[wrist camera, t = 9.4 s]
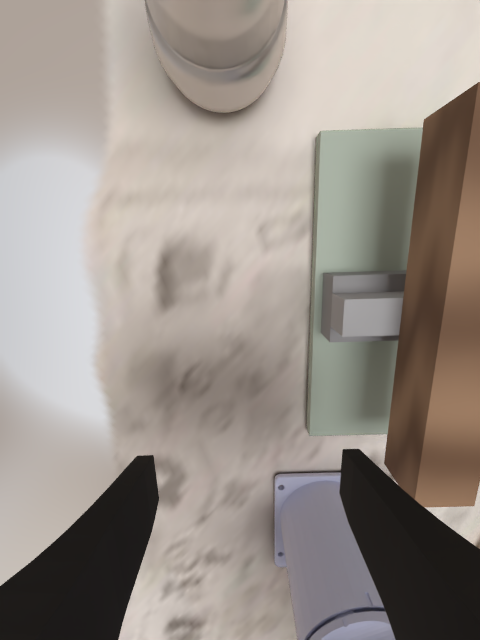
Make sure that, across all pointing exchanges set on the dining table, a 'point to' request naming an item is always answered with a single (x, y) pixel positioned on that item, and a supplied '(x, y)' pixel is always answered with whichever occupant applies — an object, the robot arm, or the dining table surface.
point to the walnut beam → (441, 318)
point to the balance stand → (358, 275)
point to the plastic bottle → (219, 47)
